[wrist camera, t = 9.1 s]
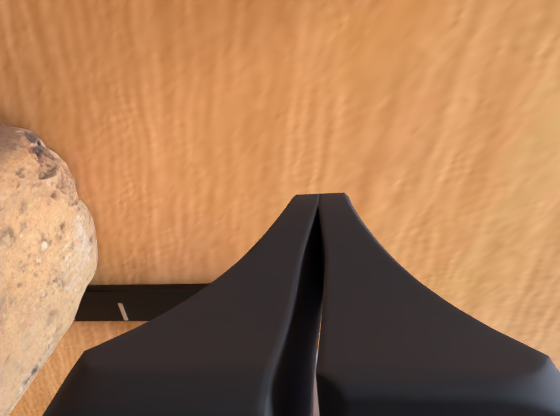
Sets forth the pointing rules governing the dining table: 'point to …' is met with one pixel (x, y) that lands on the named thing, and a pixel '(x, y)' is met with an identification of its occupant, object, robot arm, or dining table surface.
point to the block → (38, 257)
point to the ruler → (132, 301)
